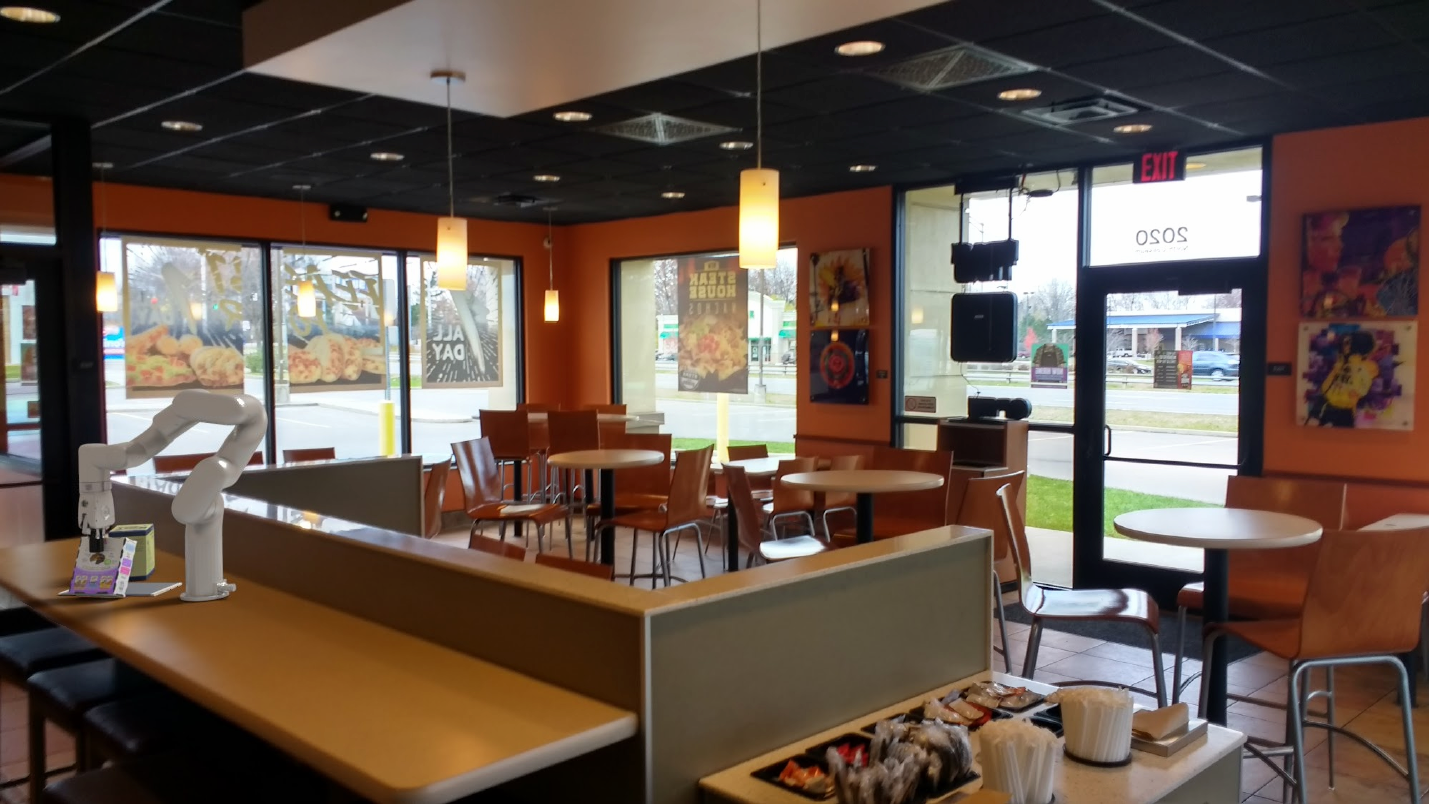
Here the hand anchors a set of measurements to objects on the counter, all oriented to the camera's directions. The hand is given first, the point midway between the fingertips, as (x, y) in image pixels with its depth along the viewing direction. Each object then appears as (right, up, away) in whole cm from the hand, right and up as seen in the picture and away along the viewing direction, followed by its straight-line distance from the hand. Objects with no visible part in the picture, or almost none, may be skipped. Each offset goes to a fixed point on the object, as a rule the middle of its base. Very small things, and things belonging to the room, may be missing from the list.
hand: (96, 552), depth 293 cm
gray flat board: (0, -13, +12) cm, 18 cm away
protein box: (-7, -13, +31) cm, 34 cm away
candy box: (0, -13, 0) cm, 13 cm away
